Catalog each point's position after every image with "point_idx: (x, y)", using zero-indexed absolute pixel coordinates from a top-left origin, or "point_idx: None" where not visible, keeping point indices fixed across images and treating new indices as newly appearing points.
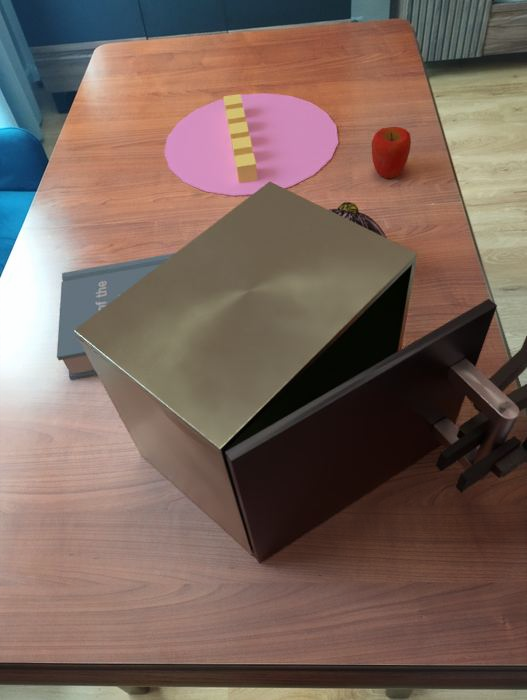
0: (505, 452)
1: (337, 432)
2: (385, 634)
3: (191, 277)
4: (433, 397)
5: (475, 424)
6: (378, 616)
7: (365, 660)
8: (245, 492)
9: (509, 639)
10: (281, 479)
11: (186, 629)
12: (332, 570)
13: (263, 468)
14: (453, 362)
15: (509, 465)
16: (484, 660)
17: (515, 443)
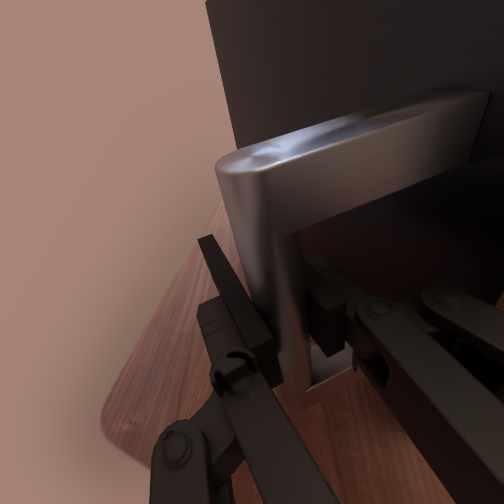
0: (228, 304)
1: (260, 75)
2: (177, 304)
3: None
4: (381, 198)
5: (327, 278)
6: (192, 300)
7: (168, 289)
8: (224, 85)
9: (113, 422)
10: (239, 107)
11: (226, 212)
12: (239, 273)
13: (224, 56)
14: (438, 70)
15: (205, 321)
16: (114, 384)
17: (246, 331)
